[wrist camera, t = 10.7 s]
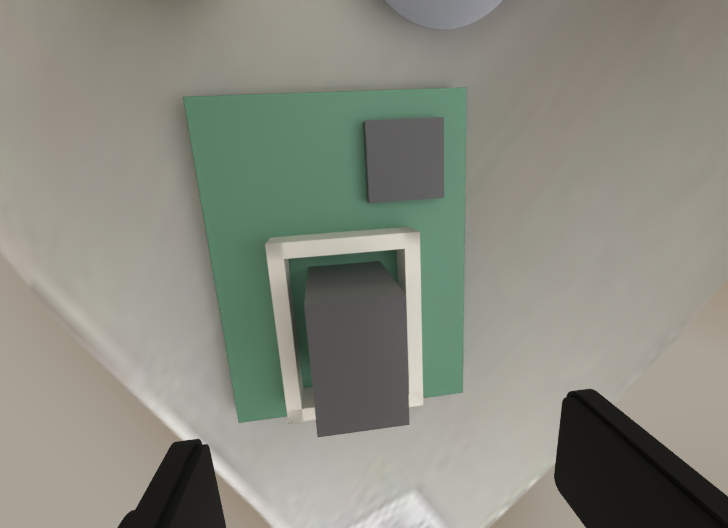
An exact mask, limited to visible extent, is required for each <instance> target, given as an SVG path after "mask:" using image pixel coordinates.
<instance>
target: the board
mask: <svg viewBox="0 0 728 528" xmlns="http://www.w3.org/2000/svg"><path fill="white" fill-rule="evenodd" d="M183 100H184V106H185V111H186V117H187V123H188V129H189V135H190V141H191V146H192V152H193V158H194V164H195V170H196V176H197V181H198V187H199V193H200V199H201V205H202V211H203V216H204V222H205V228H206V234H207V240H208V246H209V252H210V257H211V263H212V269H213V275H214V281H215V287H216V292H217V298H218V304H219V310H220V316H221V322H222V327H223V333H224V339H225V345H226V351H227V357H228V362H229V368H230V374H231V380H232V386H233V392H234V397H235V403H236V409H237V415H238V421H239V423H241V422H249V421H256V420H263V419H271V418H278V417H286V416H287V417H288V424H290V423H298V422H305V421H312V420H316V416H315V406H314V396H313V386H312V376H311V367H310V357H309V347H308V337H307V327H306V318H305V308H304V302H305V293H306V284H307V274H308V267H313V266H325V265H337V264H349V263H361V262H373V261H380V262H381V263H382V264H383V266H384V267H385V268H386V270H387V271H388V272H389V274H390V275H391V276H392V277H393V279H394V280H395V281H396V283H397V284H398V285H399V287H400V288H401V289H402V291H403V292H404V293H405V294H406V314H407V353H408V392H409V407H414V406H422V405H423V398H427V397H434V396H441V395H449V394H456V393H463V325H464V243H465V160H466V87H465V88H434V89H404V90H373V91H343V92H312V93H282V94H251V95H221V96H190V97H183Z"/></svg>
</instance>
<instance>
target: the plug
mask: <svg viewBox="0 0 728 528" xmlns="http://www.w3.org/2000/svg"><path fill="white" fill-rule="evenodd" d="M304 308H305V318H306V327H307V337H308V347H309V357H310V367H311V376H312V386H313V396H314V406H315V416H316V426H317V435H318V437H323V436H331V435H338V434H345V433H352V432H359V431H367V430H374V429H381V428H388V427H396V426H403V425H409V392H408V353H407V314H406V294H405V293H404V292H403V291H402V289H401V288H400V287H399V285H398V284H397V283H396V281H395V280H394V279H393V277H392V276H391V275H390V274H389V272H388V271H387V270H386V268H385V267H384V266H383V264H382V263H381V262H380V261H373V262H361V263H349V264H337V265H325V266H313V267H308V274H307V284H306V293H305V302H304Z"/></svg>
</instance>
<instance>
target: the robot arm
mask: <svg viewBox="0 0 728 528" xmlns="http://www.w3.org/2000/svg"><path fill="white" fill-rule="evenodd" d="M554 479H555V483H556V486H557V488H558V490H559V492H560V493H561V495H562V496H563V497H564V499H565V500H566V501H567V503H568V504H569V505H570V507H571V508H572V509H573V511H574V512H575V513H576V515H577V516H578V517H579V519H580V520H581V522H582V523H583V524H584V526H585V527H586V528H728V497H727V496H726V495H725V494H724V493H723V492H722V491H720V490H719V489H718V488H716V487H715V486H714V485H713V484H711V483H710V482H709V481H708V480H706V479H705V478H704V477H703V476H701V475H700V474H699V473H698V472H697V471H695V470H694V469H693V468H692V467H690V466H689V465H688V464H687V463H685V462H684V461H683V460H682V459H680V458H679V457H678V456H677V455H675V454H674V453H673V452H672V451H670V450H669V449H668V448H666V447H665V446H664V445H663V444H662V443H660V442H659V441H658V440H657V439H655V438H654V437H653V436H652V435H650V434H649V433H648V432H647V431H645V430H644V429H643V428H642V427H640V426H639V425H638V424H637V423H635V422H634V421H633V420H631V419H630V418H629V417H628V416H627V415H625V414H624V413H623V412H622V411H620V410H619V409H618V408H617V407H615V406H614V405H613V404H612V403H610V402H609V401H608V400H607V399H605V398H604V397H603V396H602V395H600V394H599V393H598V392H597V391H595V390H593V389H585V390H577V391H571V392H569V393H568V394H567V397H566V398H564V399H563V402H562V410H561V419H560V428H559V437H558V446H557V455H556V464H555V473H554ZM118 528H226V524H225V519H224V515H223V510H222V505H221V500H220V496H219V491H218V486H217V481H216V477H215V472H214V467H213V462H212V458H211V453H210V448H209V446H208V445H207V444H205V445H202V442H201V441H200V439H194V440H186V441H179V442H174V443H173V444H172V445H171V446H170V448H169V450H168V452H167V454H166V455H165V457H164V459H163V461H162V463H161V464H160V466H159V468H158V470H157V472H156V473H155V475H154V477H153V479H152V481H151V482H150V484H149V486H148V488H147V490H146V491H145V493H144V495H143V497H142V499H141V500H140V502H139V504H138V506H137V508H136V510H133V511H131V512H129V513H128V514H127V515H126V516H125V517H124V519H123V520H122V521H121V523H120V525H119V527H118Z"/></svg>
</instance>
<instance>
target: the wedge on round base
mask: <svg viewBox="0 0 728 528" xmlns="http://www.w3.org/2000/svg"><path fill="white" fill-rule="evenodd" d="M384 1H385V2H386V3H387V4H388V5H389V6H390V7H391V8H392V9H393V10H395V11H396V12H397V13H398V14H400V15H401V16H402V17H404V18H406V19H407V20H409V21H411V22H413V23H415V24H418V25H420V26H423V27H428V28H432V29H444V30H446V29H456V28H460V27H463V26H467V25H469V24H472V23H474V22H476V21H478V20H480V19H481V18H483V17H484V16H486V15H487V14H488V13H490V12H491V11H492V10H493V9H494V8H496V7H497V6H498V5H499V4H500V3H501V2H502V1H503V0H384Z"/></svg>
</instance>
